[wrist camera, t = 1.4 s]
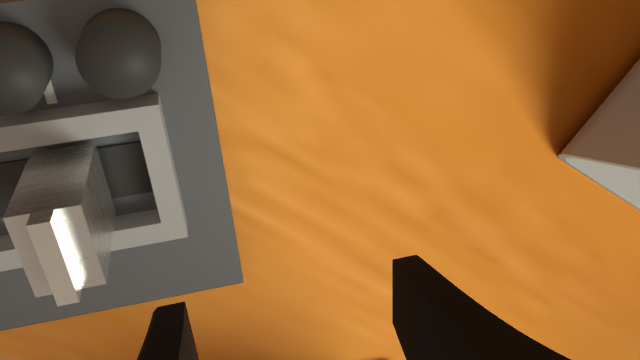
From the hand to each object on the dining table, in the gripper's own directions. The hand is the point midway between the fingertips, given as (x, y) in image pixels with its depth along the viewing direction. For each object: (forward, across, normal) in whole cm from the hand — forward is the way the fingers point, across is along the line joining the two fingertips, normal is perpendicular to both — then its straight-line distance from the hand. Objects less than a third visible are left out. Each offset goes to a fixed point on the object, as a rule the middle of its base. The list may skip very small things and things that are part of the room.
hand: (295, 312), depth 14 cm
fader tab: (+8, +6, 0) cm, 10 cm away
